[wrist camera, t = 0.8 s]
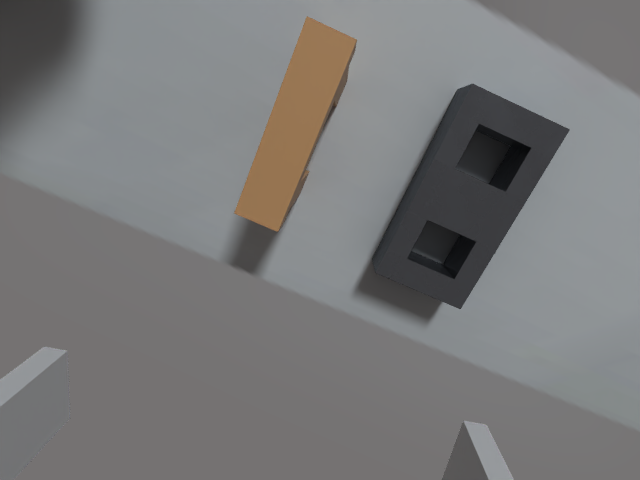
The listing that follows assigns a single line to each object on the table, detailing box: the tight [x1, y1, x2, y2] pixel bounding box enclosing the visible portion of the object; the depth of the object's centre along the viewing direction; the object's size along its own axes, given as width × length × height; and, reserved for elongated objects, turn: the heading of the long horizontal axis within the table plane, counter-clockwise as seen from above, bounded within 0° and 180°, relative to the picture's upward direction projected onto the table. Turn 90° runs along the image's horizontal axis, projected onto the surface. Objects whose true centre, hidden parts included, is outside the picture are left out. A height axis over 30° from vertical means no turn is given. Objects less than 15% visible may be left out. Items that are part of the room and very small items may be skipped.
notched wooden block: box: [235, 17, 357, 232], centre depth 27 cm, size 12×3×10 cm, turn 157°
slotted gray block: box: [372, 84, 570, 309], centre depth 31 cm, size 16×8×4 cm, turn 157°
